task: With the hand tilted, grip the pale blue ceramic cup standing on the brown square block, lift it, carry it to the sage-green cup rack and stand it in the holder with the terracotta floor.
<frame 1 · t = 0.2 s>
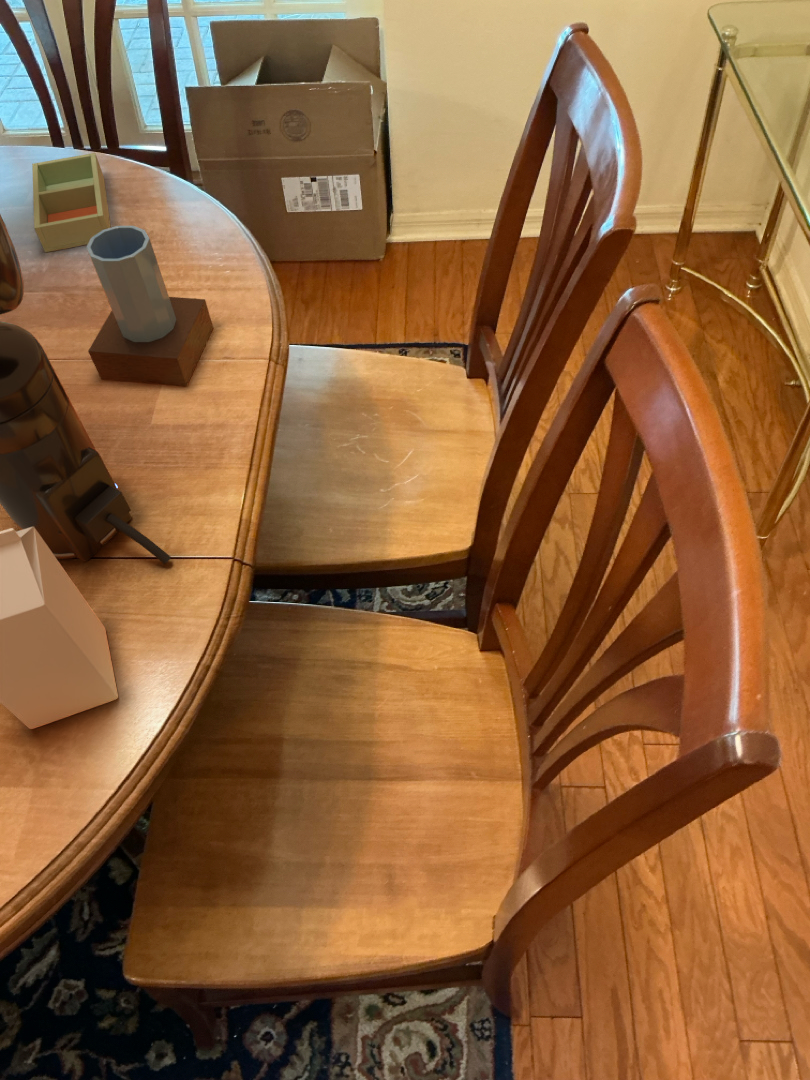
milk carton: (71, 678, 64), on the table
brown square block: (158, 352, 88), on the table
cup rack: (76, 212, 105), on the table
cup: (148, 324, 84), point 4 cm above the table, touching brown square block
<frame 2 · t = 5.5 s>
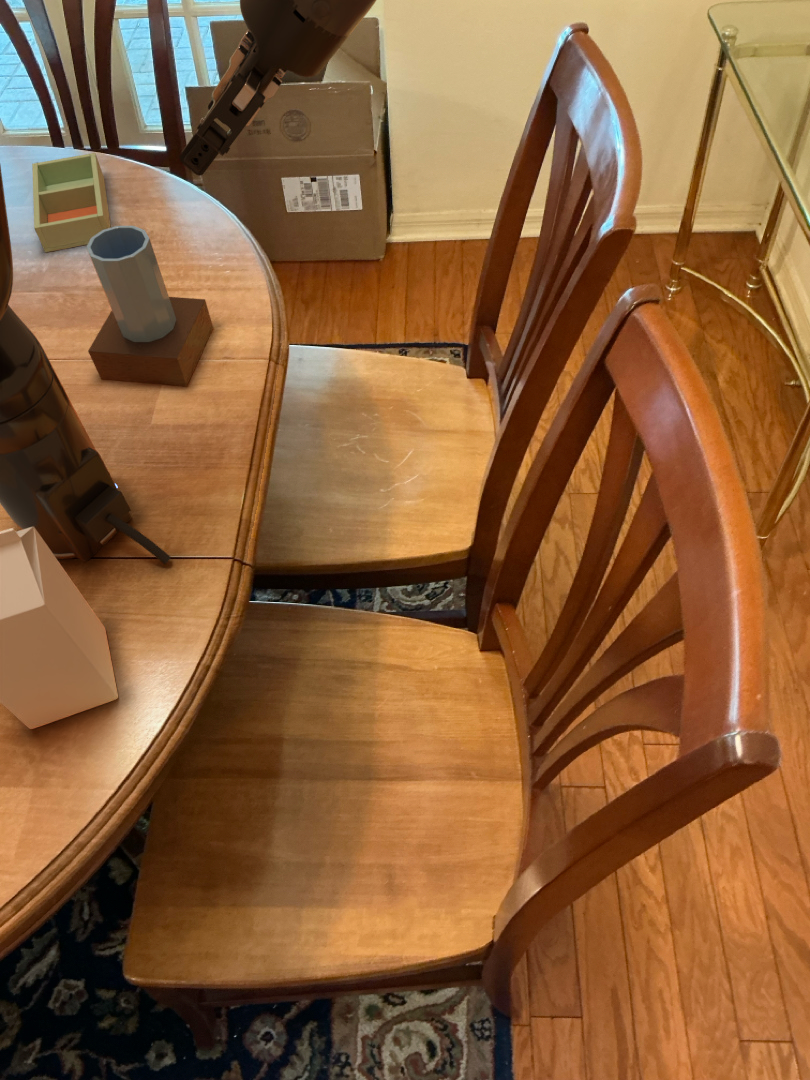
hand: (204, 140, 67), 25 cm above the table, tool tilted 45°, fingers open, 8 cm apart
nothing on the table moved.
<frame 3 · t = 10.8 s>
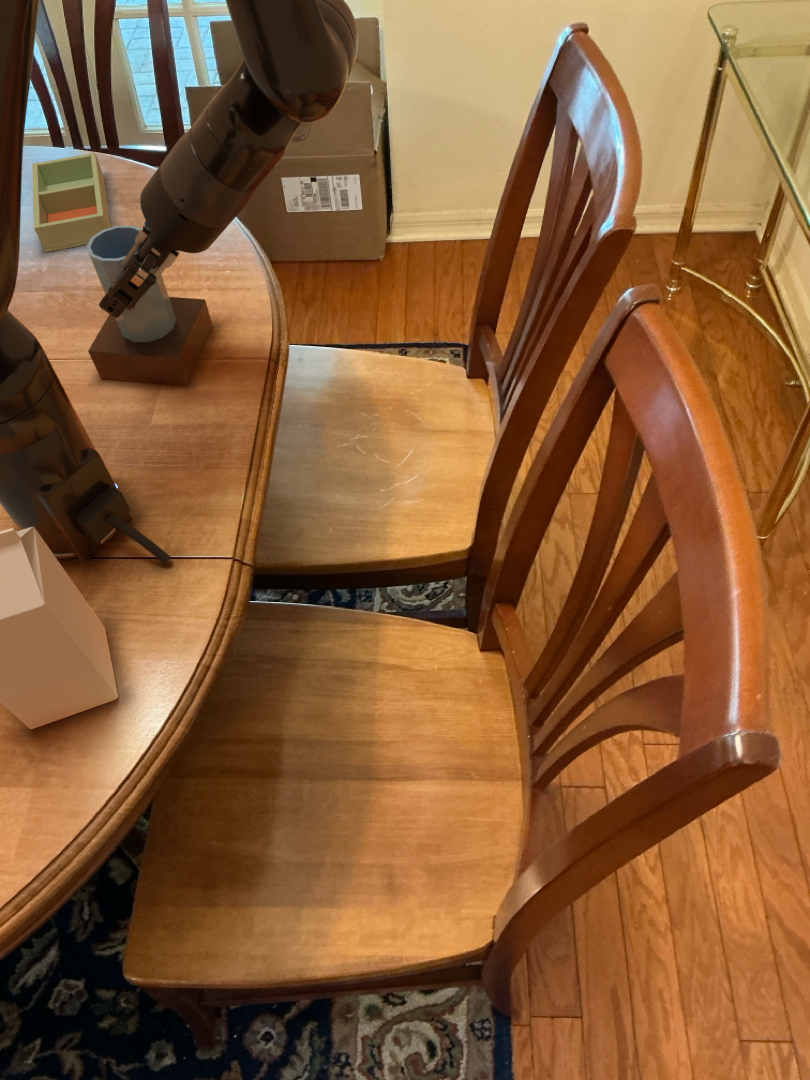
hand: (120, 290, 81), 8 cm above the table, tool tilted 45°, fingers closed on cup, 6 cm apart
cup: (148, 324, 84), point 4 cm above the table, touching gripper, brown square block
everything else where it was.
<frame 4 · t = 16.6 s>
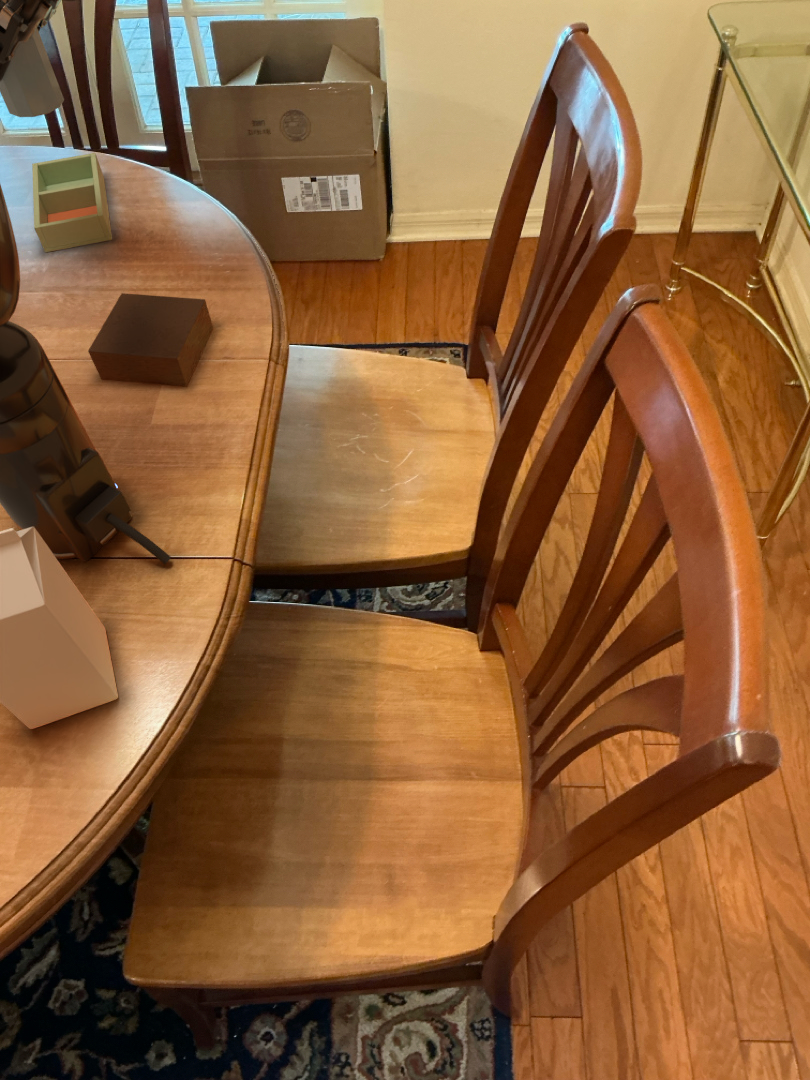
hand: (3, 60, 82), 22 cm above the table, tool tilted 45°, fingers closed on cup, 6 cm apart
cup: (35, 103, 85), point 18 cm above the table, touching gripper
everything else where it was.
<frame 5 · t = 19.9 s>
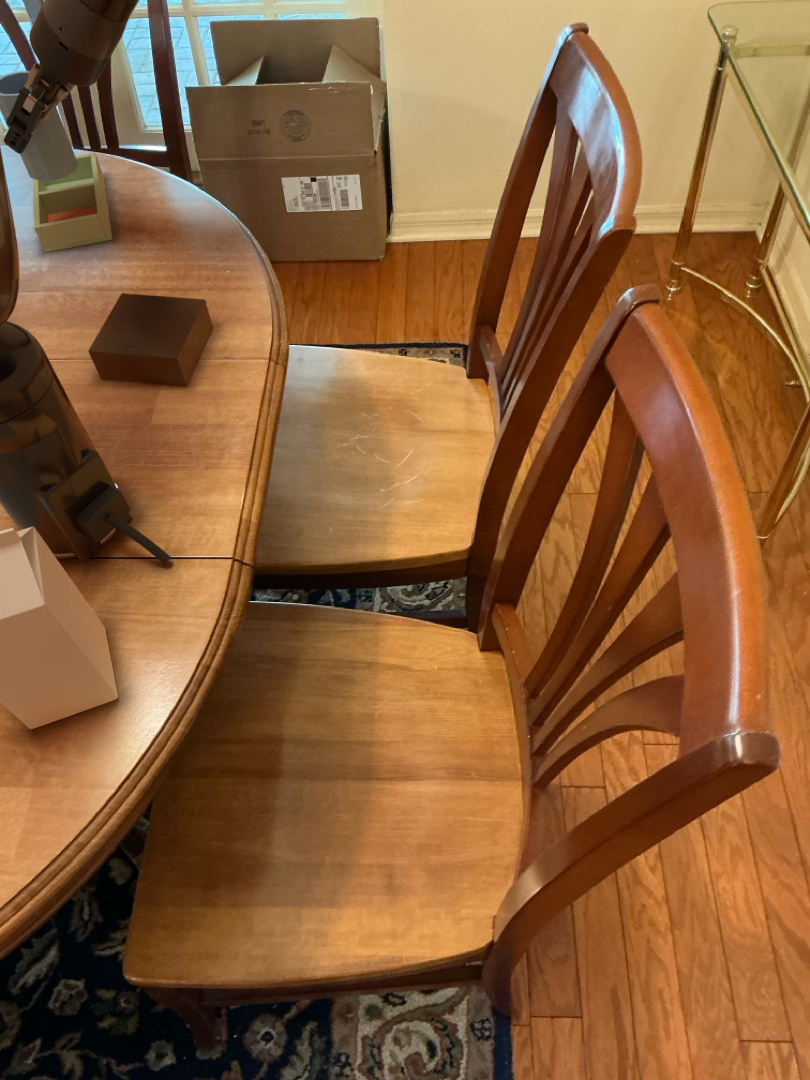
hand: (25, 132, 93), 13 cm above the table, tool tilted 45°, fingers closed on cup, 6 cm apart
cup: (53, 168, 96), point 8 cm above the table, touching gripper
everything else where it was.
when the fingers open (5 cm above the table, at t = 22.5 s): cup stays where it is, resting on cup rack.
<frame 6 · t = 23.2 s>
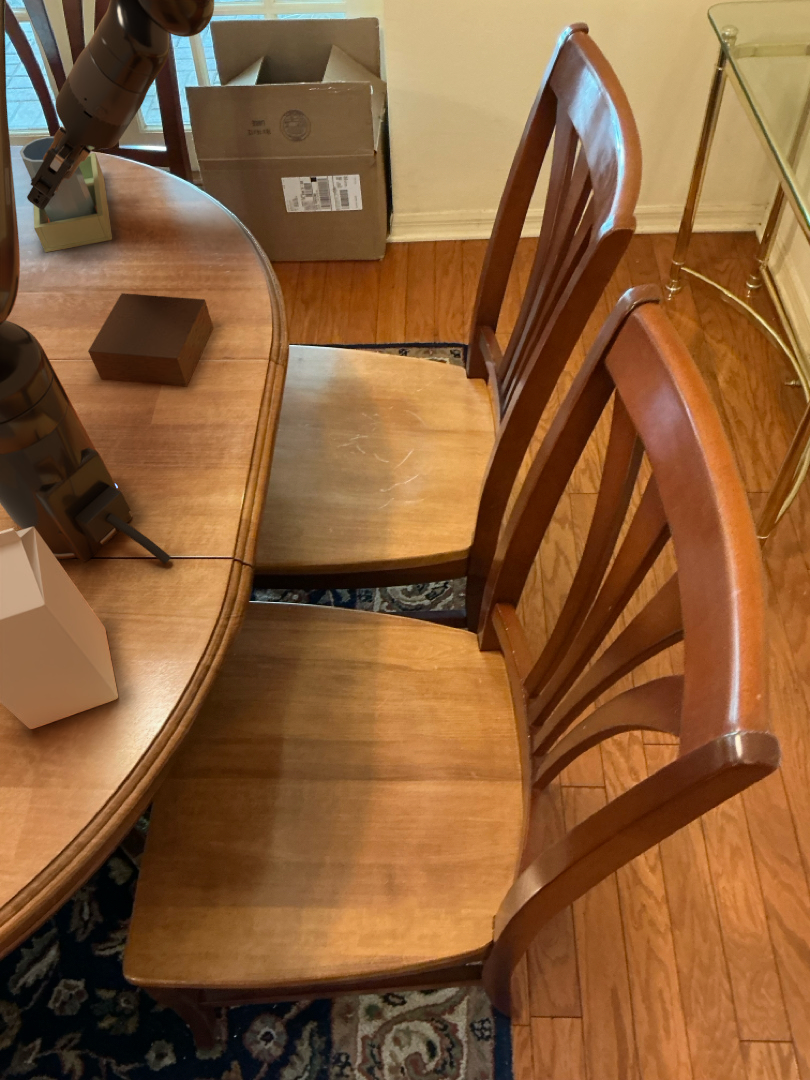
hand: (49, 185, 98), 6 cm above the table, tool tilted 45°, fingers open, 8 cm apart
cup: (76, 223, 102), point 1 cm above the table, touching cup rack
everything else where it was.
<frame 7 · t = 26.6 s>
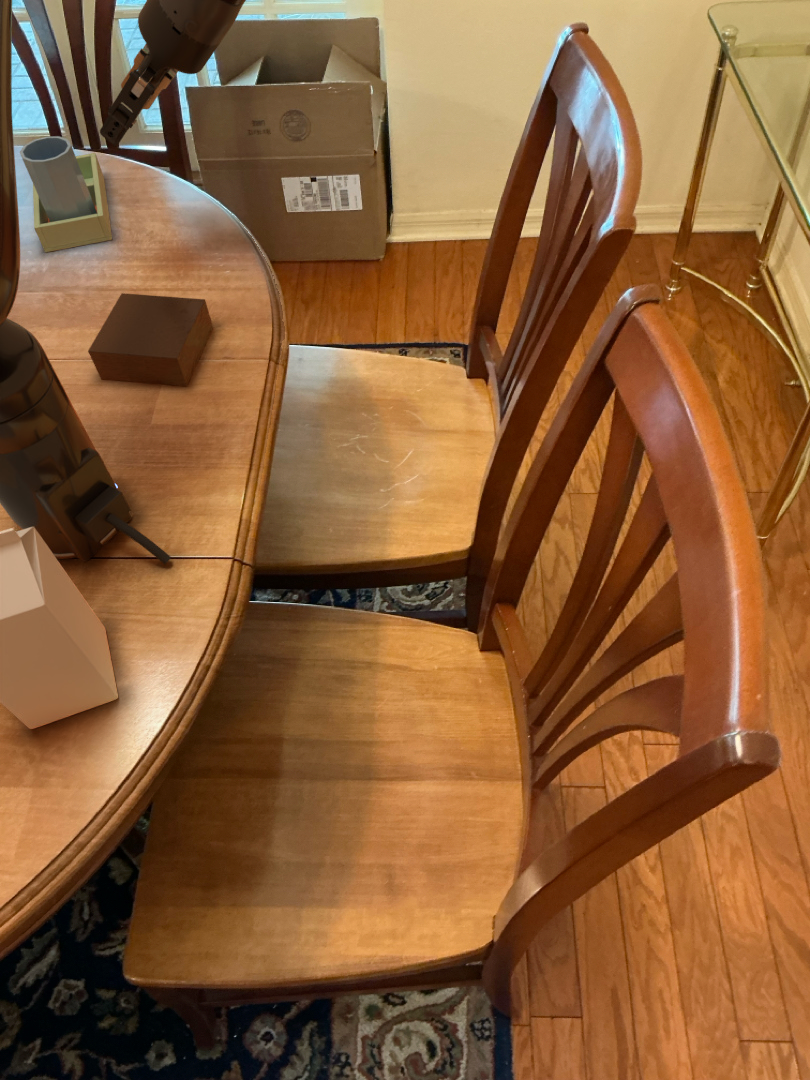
hand: (122, 120, 89), 15 cm above the table, tool tilted 45°, fingers open, 8 cm apart
nothing on the table moved.
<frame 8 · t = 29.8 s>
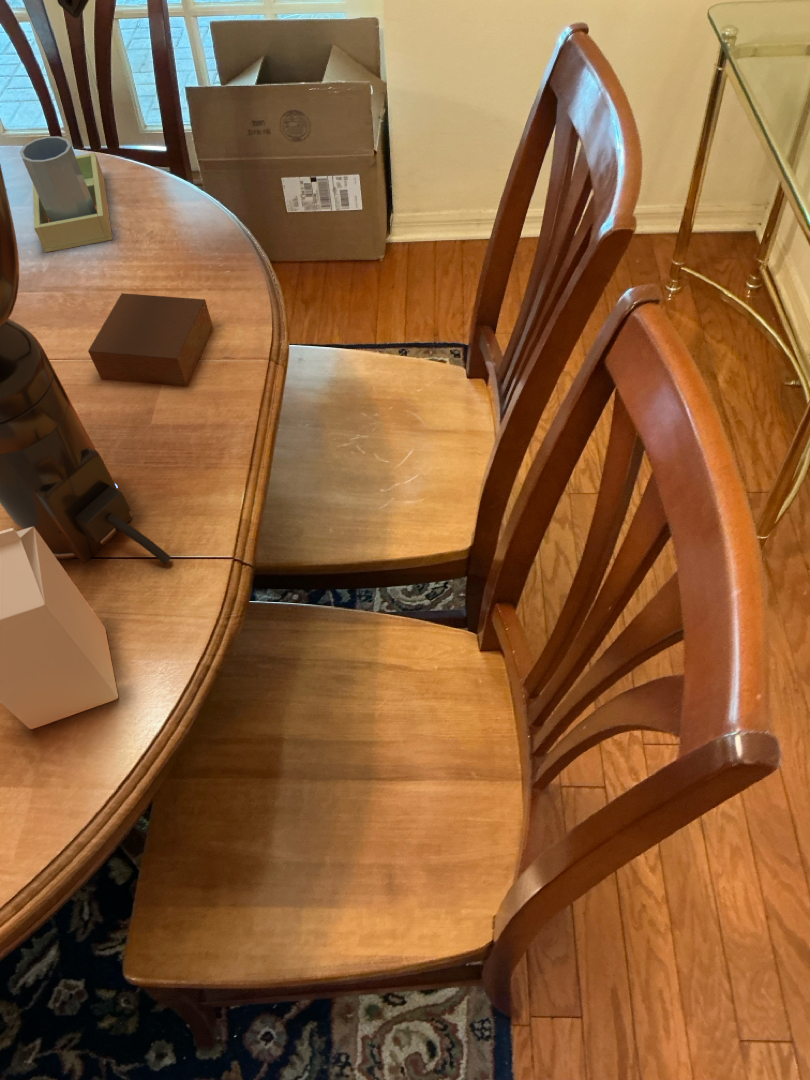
nothing on the table moved.
at the end: cup 0.1 cm from the target spot in the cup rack, point 0.7 cm above the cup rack's base; cup tilted 0°; the gripper is holding nothing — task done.
